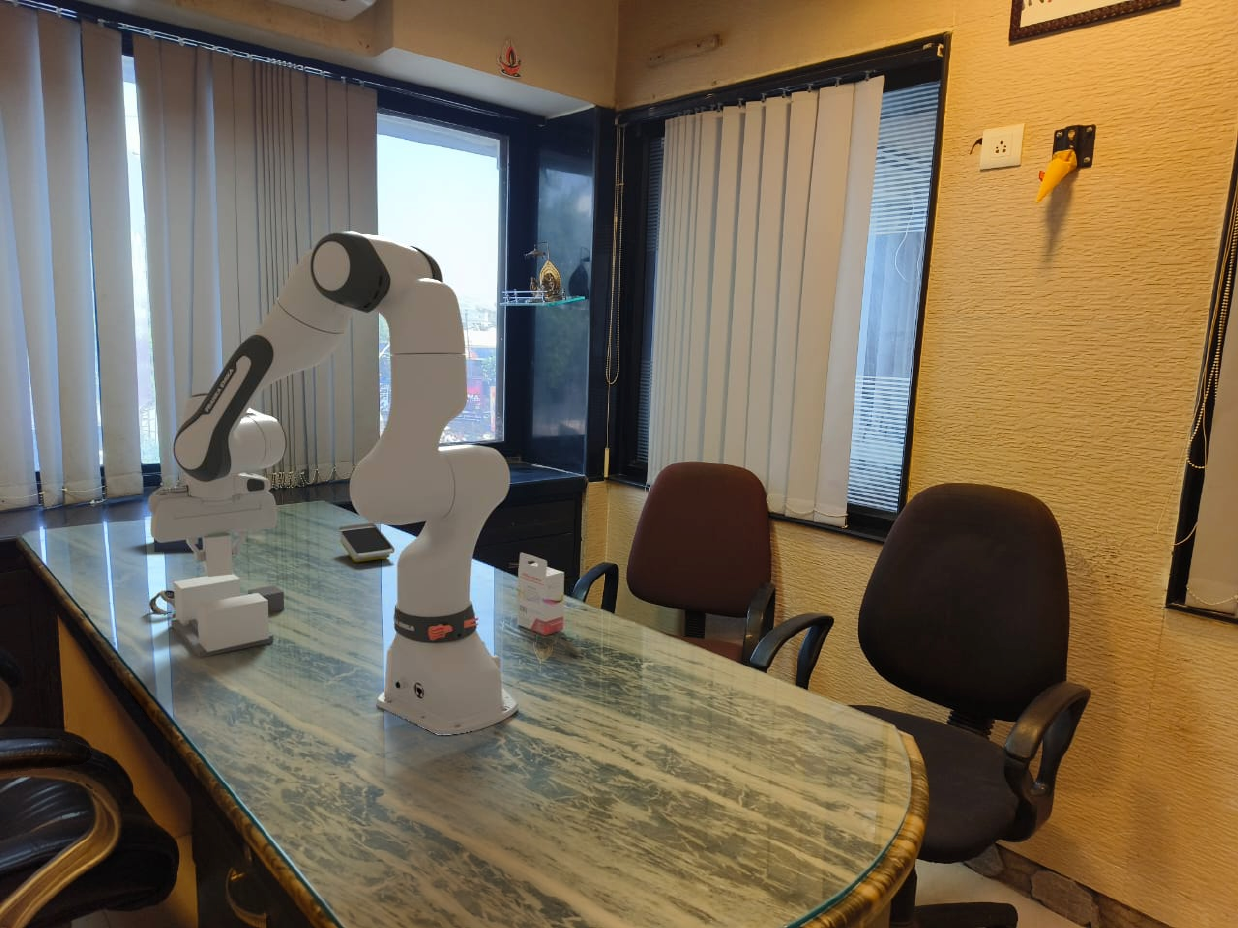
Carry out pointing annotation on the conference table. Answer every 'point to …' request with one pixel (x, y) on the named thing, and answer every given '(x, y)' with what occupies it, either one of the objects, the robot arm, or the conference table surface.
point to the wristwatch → (166, 596)
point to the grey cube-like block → (271, 597)
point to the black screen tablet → (365, 542)
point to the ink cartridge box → (539, 596)
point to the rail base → (219, 615)
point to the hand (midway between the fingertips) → (217, 558)
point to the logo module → (218, 555)
